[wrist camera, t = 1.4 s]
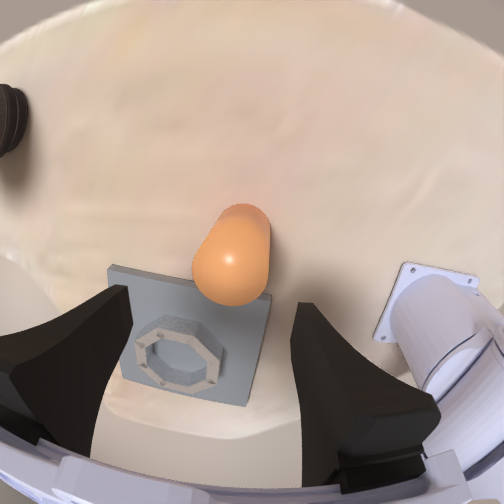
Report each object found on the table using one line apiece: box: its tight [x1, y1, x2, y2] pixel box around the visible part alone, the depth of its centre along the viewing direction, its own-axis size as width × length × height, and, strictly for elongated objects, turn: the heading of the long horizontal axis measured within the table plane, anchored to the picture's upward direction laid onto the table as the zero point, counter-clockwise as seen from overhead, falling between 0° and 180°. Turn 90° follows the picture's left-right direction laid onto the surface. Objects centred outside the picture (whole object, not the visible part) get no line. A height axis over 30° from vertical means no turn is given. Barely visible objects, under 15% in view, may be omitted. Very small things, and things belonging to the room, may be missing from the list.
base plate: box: [107, 264, 271, 407], centre depth 26 cm, size 14×14×1 cm
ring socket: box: [134, 314, 223, 394], centre depth 24 cm, size 8×8×2 cm
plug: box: [192, 204, 271, 306], centre depth 18 cm, size 4×4×7 cm
